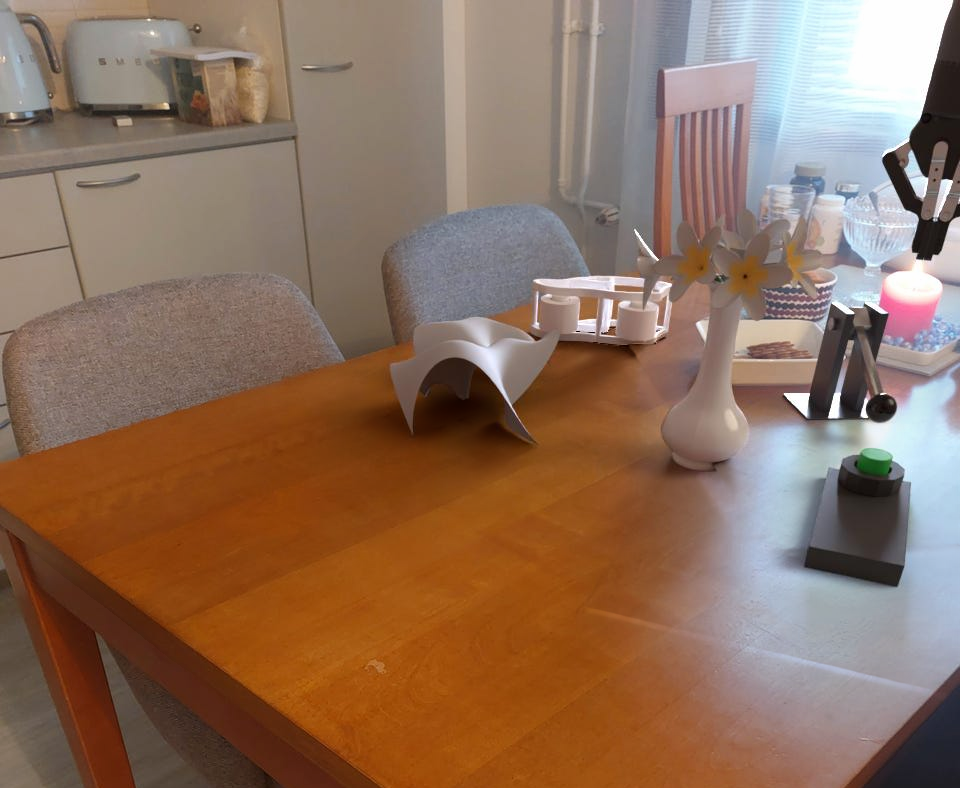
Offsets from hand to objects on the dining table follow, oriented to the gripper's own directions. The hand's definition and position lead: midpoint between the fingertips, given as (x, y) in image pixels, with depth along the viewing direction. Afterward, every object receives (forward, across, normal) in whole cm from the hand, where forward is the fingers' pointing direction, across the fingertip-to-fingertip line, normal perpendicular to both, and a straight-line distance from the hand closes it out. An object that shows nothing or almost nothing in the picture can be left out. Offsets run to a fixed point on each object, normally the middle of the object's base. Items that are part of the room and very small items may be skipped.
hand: (923, 258), depth 93 cm
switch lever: (+14, -3, +5) cm, 15 cm away
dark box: (+20, 0, -22) cm, 30 cm away
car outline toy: (+21, -40, +25) cm, 51 cm away
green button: (+17, 0, -15) cm, 22 cm away
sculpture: (+20, -46, -6) cm, 51 cm away
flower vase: (+20, -18, -12) cm, 30 cm away
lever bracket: (+21, -5, +8) cm, 23 cm away
